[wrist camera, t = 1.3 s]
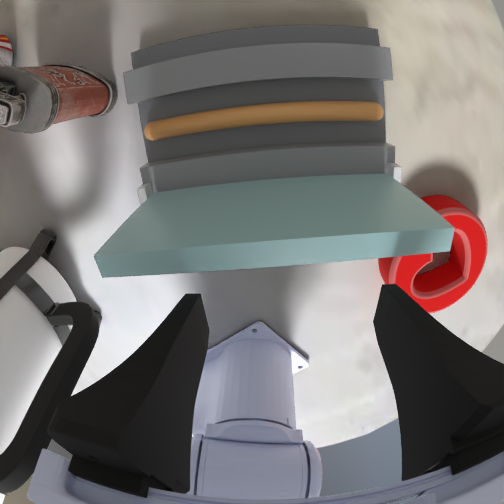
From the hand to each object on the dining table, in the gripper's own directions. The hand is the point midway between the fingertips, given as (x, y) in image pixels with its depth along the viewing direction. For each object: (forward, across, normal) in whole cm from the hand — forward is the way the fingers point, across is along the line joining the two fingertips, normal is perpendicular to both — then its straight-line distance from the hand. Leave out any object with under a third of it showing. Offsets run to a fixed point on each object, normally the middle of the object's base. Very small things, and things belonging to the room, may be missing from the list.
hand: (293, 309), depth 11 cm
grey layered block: (+10, +1, -6) cm, 12 cm away
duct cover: (+3, +1, -3) cm, 5 cm away
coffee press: (+10, +23, +6) cm, 26 cm away
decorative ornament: (+11, -12, +4) cm, 17 cm away
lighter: (+11, +14, -11) cm, 21 cm away
